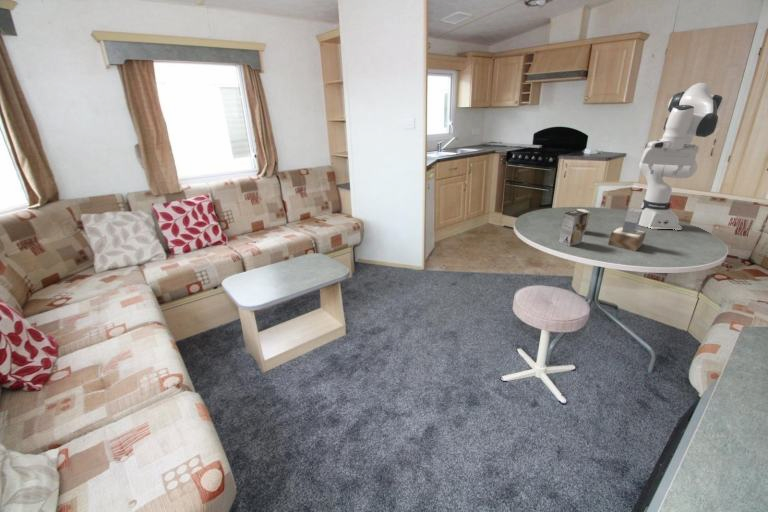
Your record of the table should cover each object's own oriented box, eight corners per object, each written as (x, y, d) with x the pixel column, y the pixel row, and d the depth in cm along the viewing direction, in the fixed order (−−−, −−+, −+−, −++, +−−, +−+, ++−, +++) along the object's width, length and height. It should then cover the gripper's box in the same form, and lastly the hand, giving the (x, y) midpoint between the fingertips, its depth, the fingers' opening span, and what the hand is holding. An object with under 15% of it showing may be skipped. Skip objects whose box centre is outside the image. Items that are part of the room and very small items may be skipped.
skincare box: (571, 229, 202) (575, 208, 197) (578, 229, 202) (583, 208, 197) (577, 233, 196) (582, 212, 191) (585, 233, 196) (590, 212, 191)
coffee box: (570, 239, 188) (576, 209, 182) (581, 243, 183) (588, 213, 177) (558, 242, 185) (564, 212, 178) (569, 246, 179) (576, 215, 173)
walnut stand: (642, 244, 181) (646, 231, 179) (635, 251, 174) (639, 237, 171) (615, 238, 189) (619, 226, 187) (608, 244, 182) (611, 231, 179)
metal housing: (636, 231, 179) (642, 210, 174) (633, 234, 176) (639, 212, 171) (624, 229, 182) (630, 208, 178) (621, 231, 179) (627, 210, 174)
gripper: (697, 144, 163) (686, 174, 169) (644, 142, 169) (636, 171, 175) (702, 145, 158) (691, 177, 163) (648, 143, 164) (639, 174, 170)
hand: (662, 174), depth 169 cm, fingers open, 8 cm apart
